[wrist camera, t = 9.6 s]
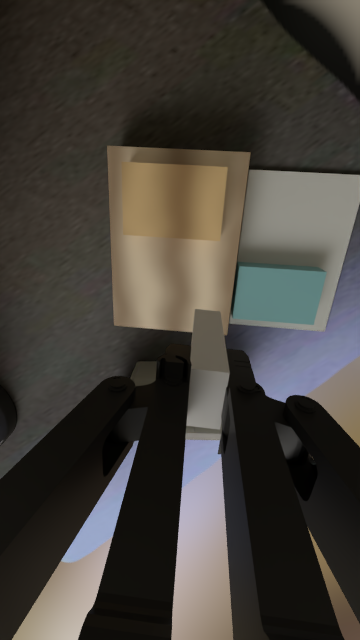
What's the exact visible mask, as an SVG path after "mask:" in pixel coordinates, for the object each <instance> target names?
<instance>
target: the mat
mask: <svg viewBox="0 0 360 640" xmlns="http://www.w3.org/2000/svg"><path fill="white" fill-rule="evenodd" d="M359 203H360V175H349V174H329V173H309V172H289V171H269V170H249V172H248V180H247V187H246V195H245V203H244V210H243V218H242V226H241V234H240V241H239V249H238V257H237V262H250V263H265V264H280V265H295V266H310V267H319V268H321V269H322V270H324V271H326V272H327V274H326V278H325V282H324V286H323V290H322V294H321V298H320V302H319V306H318V310H317V314H316V318H315V322H314V325H307V324H294V323H281V322H269V321H256V320H244V319H233V318H232V314H231V311H230V319H229V324H240V325H252V326H264V327H276V328H288V329H300V330H312V331H325V328H326V324H327V320H328V317H329V313H330V309H331V306H332V302H333V298H334V295H335V291H336V287H337V284H338V280H339V276H340V273H341V269H342V265H343V262H344V258H345V254H346V251H347V247H348V243H349V240H350V236H351V232H352V229H353V225H354V221H355V218H356V214H357V210H358V207H359ZM236 267H237V265H236ZM235 275H236V272H235ZM234 283H235V280H234ZM233 291H234V288H233ZM232 299H233V295H232ZM231 306H232V303H231Z"/></svg>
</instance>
